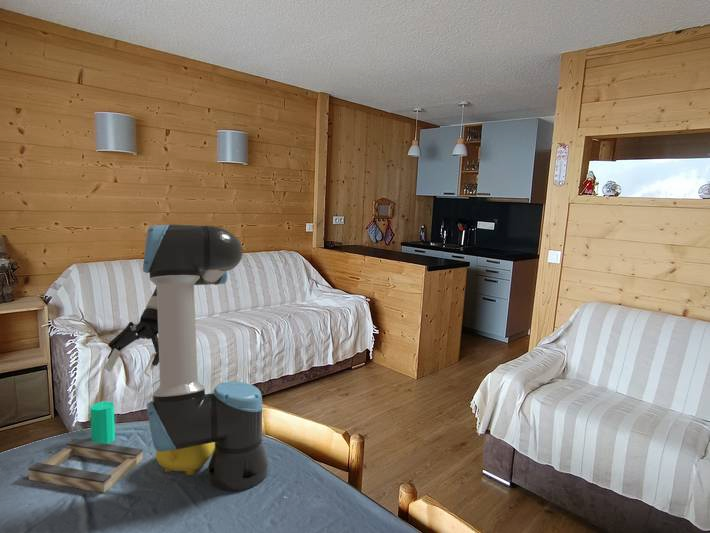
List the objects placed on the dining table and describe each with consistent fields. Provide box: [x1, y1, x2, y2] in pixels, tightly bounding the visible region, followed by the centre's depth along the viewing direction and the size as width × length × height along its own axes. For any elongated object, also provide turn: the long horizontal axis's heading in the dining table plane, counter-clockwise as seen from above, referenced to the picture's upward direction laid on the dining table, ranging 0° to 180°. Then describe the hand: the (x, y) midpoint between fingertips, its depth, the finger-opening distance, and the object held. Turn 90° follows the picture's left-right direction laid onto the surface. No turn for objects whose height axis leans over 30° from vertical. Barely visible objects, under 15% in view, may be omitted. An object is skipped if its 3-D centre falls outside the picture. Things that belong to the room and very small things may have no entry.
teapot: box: [155, 442, 215, 476], centre depth 117 cm, size 13×20×12 cm
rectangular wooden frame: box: [27, 438, 144, 494], centre depth 113 cm, size 21×14×3 cm, turn 79°
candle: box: [89, 400, 116, 444], centre depth 126 cm, size 6×6×12 cm
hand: (126, 372), depth 135 cm, fingers open, 13 cm apart
